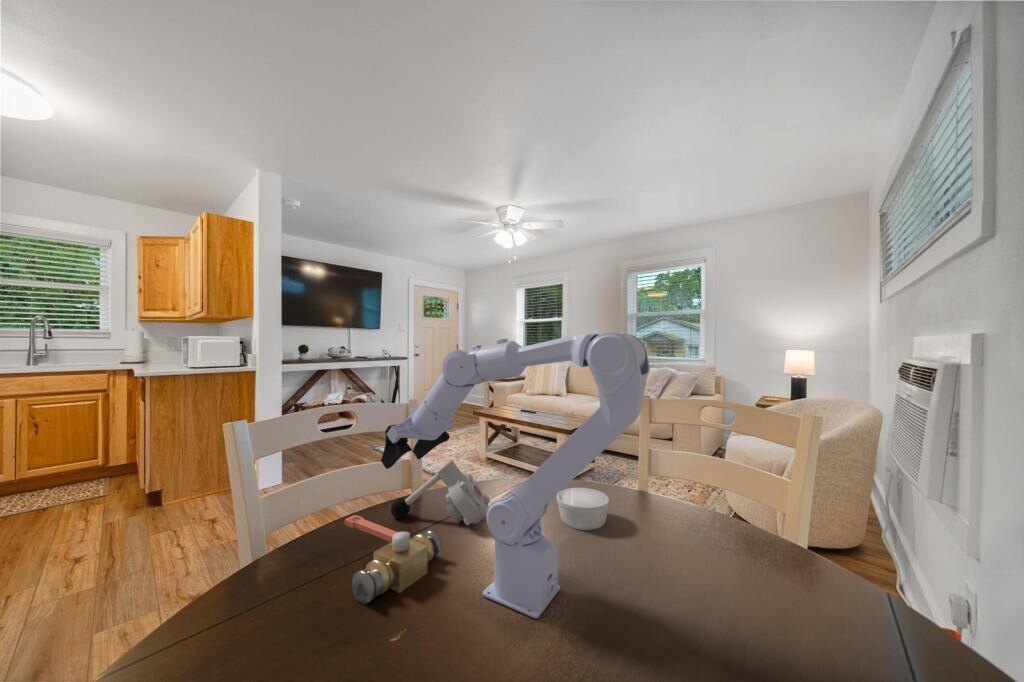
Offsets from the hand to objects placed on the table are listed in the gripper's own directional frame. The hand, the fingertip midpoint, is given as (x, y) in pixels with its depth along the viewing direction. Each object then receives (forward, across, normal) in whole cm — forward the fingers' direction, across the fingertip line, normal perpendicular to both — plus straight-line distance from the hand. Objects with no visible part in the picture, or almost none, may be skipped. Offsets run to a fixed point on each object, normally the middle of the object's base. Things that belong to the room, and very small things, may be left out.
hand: (401, 459), depth 70 cm
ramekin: (-3, -30, +29) cm, 42 cm away
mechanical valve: (+14, -14, +9) cm, 22 cm away
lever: (+9, +5, +8) cm, 13 cm away
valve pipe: (+9, +5, +15) cm, 19 cm away
